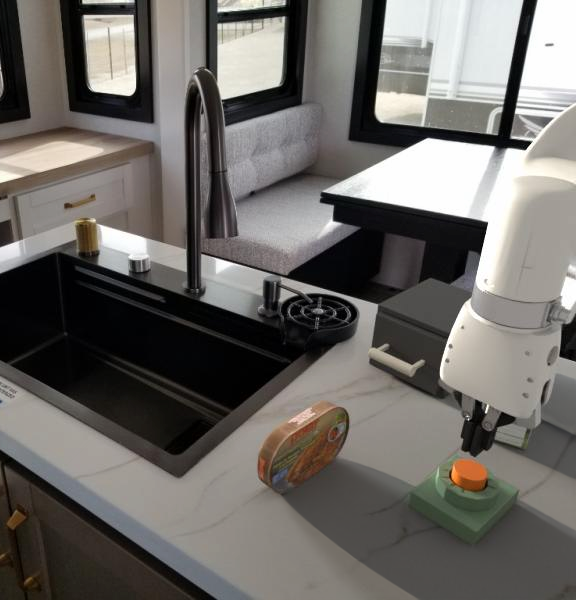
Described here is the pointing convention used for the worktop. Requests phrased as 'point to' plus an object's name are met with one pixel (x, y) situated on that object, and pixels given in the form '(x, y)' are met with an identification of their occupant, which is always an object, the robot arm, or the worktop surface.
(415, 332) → the dark grey drawer
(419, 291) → the grey drawer box
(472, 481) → the button
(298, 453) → the tin
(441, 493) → the green button base
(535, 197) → the robot arm
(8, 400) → the worktop surface
